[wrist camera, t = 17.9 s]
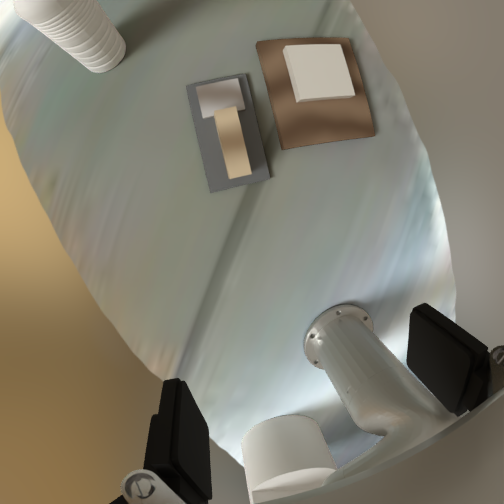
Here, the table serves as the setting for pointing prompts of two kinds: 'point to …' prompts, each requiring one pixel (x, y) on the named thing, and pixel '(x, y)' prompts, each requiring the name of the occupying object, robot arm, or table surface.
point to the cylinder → (285, 458)
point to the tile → (318, 72)
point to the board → (313, 112)
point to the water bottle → (76, 30)
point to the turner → (226, 122)
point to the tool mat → (212, 145)
